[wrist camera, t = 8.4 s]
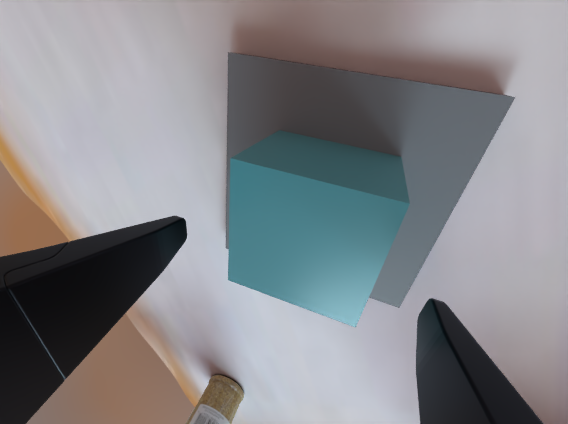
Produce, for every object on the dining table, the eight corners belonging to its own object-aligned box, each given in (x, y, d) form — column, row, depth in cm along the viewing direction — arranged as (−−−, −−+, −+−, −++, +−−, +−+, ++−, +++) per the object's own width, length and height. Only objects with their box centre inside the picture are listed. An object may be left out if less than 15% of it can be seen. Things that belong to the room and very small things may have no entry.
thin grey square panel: (504, 94, 10) (566, 108, 7) (398, 295, 17) (402, 357, 13) (238, 53, 13) (183, 47, 9) (232, 240, 19) (198, 279, 16)
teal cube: (279, 130, 13) (230, 158, 9) (401, 156, 12) (409, 203, 8) (268, 226, 16) (228, 279, 12) (363, 255, 15) (355, 327, 11)
